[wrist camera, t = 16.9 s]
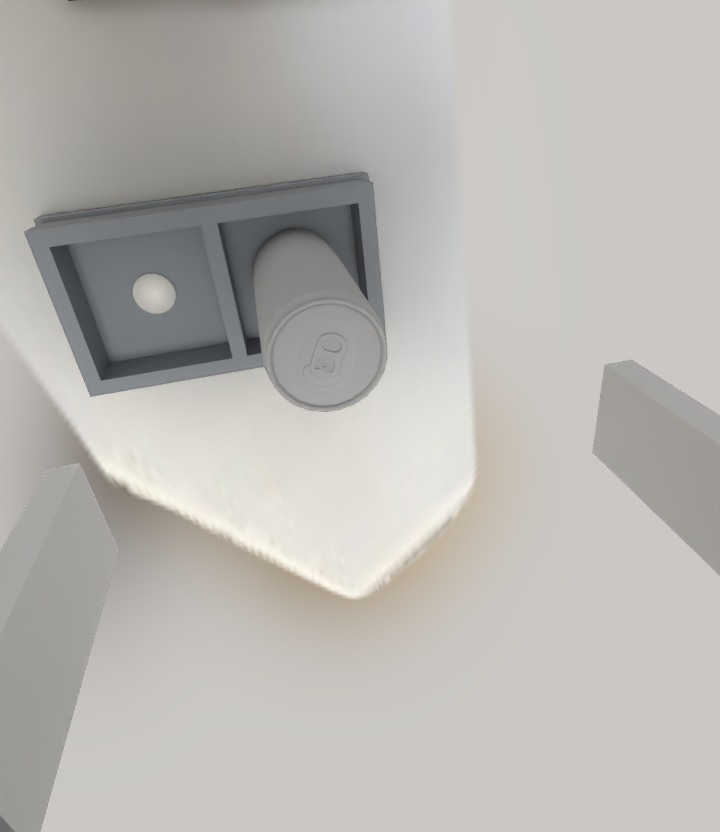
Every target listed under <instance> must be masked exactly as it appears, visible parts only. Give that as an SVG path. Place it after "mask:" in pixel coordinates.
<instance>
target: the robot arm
mask: <svg viewBox="0 0 720 832" xmlns="http://www.w3.org/2000/svg"><path fill="white" fill-rule="evenodd" d="M593 454H595V455H596V456H597V457H598V458H599V459H600V460H601V461H602V462H603V463H604V464H605V465H606V466H607V467H608V468H609V469H610V470H611V471H612V472H613V473H614V474H615V475H616V476H617V477H618V478H619V479H620V480H621V481H623V483H624V484H625V485H627V486H628V487H629V488H630V489H631V490H632V491H633V492H634V493H635V494H636V495H637V496H638V497H639V498H640V499H641V500H642V501H643V502H644V503H645V504H646V505H647V506H648V507H649V508H650V509H651V510H652V511H653V512H654V513H655V514H657V515H658V516H659V517H660V518H661V519H662V520H663V521H664V522H665V523H666V524H667V525H668V526H669V527H670V528H671V529H672V530H673V531H674V532H675V533H676V534H678V536H679V537H680V538H681V539H682V540H683V541H685V542H686V543H687V544H688V545H689V546H690V547H691V548H692V549H693V550H694V551H695V552H696V553H697V554H698V555H699V556H700V557H701V558H702V559H703V560H704V561H705V562H706V563H707V564H708V565H709V566H710V567H711V568H712V569H713V570H714V571H716V573H718V574H719V575H720V415H718V414H717V413H715V412H713V411H712V410H710V409H709V408H707V407H706V406H704V405H703V404H701V403H699V402H698V401H696V400H695V399H693V398H691V397H690V396H688V395H687V394H685V393H683V392H682V391H680V390H679V389H677V388H675V387H674V386H673V385H671V384H669V383H667V382H666V381H665V380H663V379H661V378H660V377H658V376H657V375H655V374H653V373H652V372H650V371H649V370H647V369H646V368H644V367H642V366H641V365H639V364H638V363H636V362H634V361H633V360H628V361H622V362H617V363H612V364H607V365H605V366H604V372H603V380H602V387H601V394H600V401H599V409H598V416H597V423H596V430H595V438H594V444H593ZM118 551H119V549H118V547H117V545H116V542H115V540H114V538H113V536H112V533H111V531H110V529H109V527H108V525H107V522H106V520H105V518H104V516H103V513H102V511H101V509H100V507H99V505H98V502H97V500H96V498H95V496H94V493H93V491H92V489H91V487H90V485H89V482H88V480H87V478H86V476H85V473H84V471H83V469H82V467H81V464H80V463H77V464H71V465H65V466H60V467H55V468H49V469H45V471H44V473H43V474H42V476H41V478H40V480H39V482H38V484H37V485H36V487H35V489H34V491H33V493H32V495H31V496H30V498H29V500H28V502H27V504H26V506H25V507H24V509H23V511H22V513H21V515H20V516H19V518H18V520H17V522H16V524H15V525H14V527H13V529H12V531H11V533H10V535H9V536H8V538H7V540H6V542H5V544H4V546H3V547H2V549H1V551H0V832H40V831H41V827H42V823H43V820H44V817H45V813H46V809H47V806H48V802H49V799H50V795H51V791H52V788H53V784H54V780H55V777H56V774H57V770H58V766H59V763H60V759H61V756H62V752H63V748H64V745H65V741H66V738H67V734H68V731H69V727H70V723H71V720H72V716H73V712H74V709H75V705H76V702H77V698H78V695H79V691H80V688H81V684H82V680H83V677H84V673H85V670H86V666H87V662H88V659H89V655H90V652H91V648H92V645H93V641H94V637H95V634H96V630H97V626H98V623H99V619H100V616H101V612H102V609H103V605H104V602H105V598H106V594H107V590H108V587H109V584H110V580H111V577H112V573H113V569H114V566H115V562H116V559H117V555H118Z"/></svg>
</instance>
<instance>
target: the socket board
mask: <svg viewBox="0 0 720 832" xmlns="http://www.w3.org/2000/svg"><path fill="white" fill-rule="evenodd" d="M34 222H35V224H36V226H35V227H33V228H31V229H29V230H27V231H25V232H24V233H25V235H26V238H27V240H28V243H29V245H30V248H31V250H32V253H33V255H34V258H35V260H36V263H37V265H38V268H39V270H40V273H41V275H42V277H43V280H44V282H45V285H46V287H47V290H48V292H49V295H50V297H51V300H52V302H53V305H54V307H55V310H56V312H57V315H58V317H59V320H60V322H61V325H62V327H63V330H64V332H65V335H66V337H67V339H68V342H69V344H70V347H71V349H72V352H73V354H74V357H75V359H76V362H77V364H78V367H79V369H80V372H81V374H82V377H83V379H84V382H85V384H86V387H87V389H88V392H89V394H90V397H92V396H97V395H103V394H109V393H115V392H120V391H126V390H132V389H138V388H143V387H149V386H155V385H161V384H167V383H172V382H178V381H184V380H190V379H195V378H201V377H207V376H213V375H218V374H224V373H230V372H236V371H241V370H247V369H253V368H259V367H264V365H263V358H262V352H261V344H260V335H259V327H258V318H257V310H256V301H255V293H254V284H253V276H252V271H253V263H254V260H255V258H256V256H257V254H258V252H259V250H260V249H261V248H262V247H263V246H264V244H265V243H266V242H267V241H268V240H270V239H271V238H272V237H274V236H275V235H276V234H279V233H281V232H283V231H286V230H291V229H303V230H309V231H312V232H314V233H316V234H318V235H320V236H321V237H322V238H324V239H325V240H326V241H327V242H328V243H329V244H330V246H331V247H332V249H333V250H334V252H335V253H336V255H337V256H338V258H339V259H340V261H341V262H342V264H343V265H344V267H345V268H346V270H347V271H348V273H349V274H350V276H351V277H352V278H353V280H354V281H355V283H356V284H357V286H358V287H359V289H360V290H361V292H362V293H363V295H364V296H365V298H366V299H367V301H368V302H369V304H370V305H371V307H372V308H373V310H374V311H375V313H376V314H377V316H378V317H379V319H380V320H381V323H382V326H383V329H384V333H385V336H386V332H385V320H384V309H383V297H382V285H381V274H380V262H379V251H378V239H377V227H376V216H375V204H374V192H373V183H371V182H369V178H368V173H365V172H361V173H354V174H346V175H339V176H332V177H324V178H317V179H310V180H302V181H295V182H288V183H280V184H273V185H266V186H258V187H251V188H244V189H236V190H229V191H222V192H214V193H207V194H200V195H192V196H185V197H178V198H170V199H163V200H156V201H148V202H141V203H134V204H126V205H119V206H111V207H104V208H97V209H89V210H82V211H75V212H67V213H60V214H53V215H45V216H40V217H37V218H35V219H34Z"/></svg>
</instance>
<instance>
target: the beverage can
mask: <svg viewBox="0 0 720 832" xmlns="http://www.w3.org/2000/svg"><path fill="white" fill-rule="evenodd" d="M252 276H253V284H254V293H255V301H256V310H257V318H258V327H259V335H260V344H261V352H262V358H263V365H264V368H265V370H266V372H267V374H268V376H269V378H270V380H271V381H272V383H273V385H274V387H275V388H276V389H277V390H278V391H279V393H280V394H281V395H282V396H283V397H284V398H285V399H287V400H288V401H290V402H291V403H293V404H294V405H296V406H298V407H301V408H304V409H307V410H310V411H320V412H328V411H335V410H341V409H343V408H346V407H349V406H351V405H354V404H355V403H357V402H358V401H360V400H361V399H363V398H364V397H366V396H367V395H368V394H369V393H370V392H371V391H372V390H373V388H374V387H375V386H376V385H377V383H378V382H379V380H380V378H381V376H382V374H383V373H384V369H385V365H386V361H387V343H386V336H385V333H384V329H383V326H382V323H381V320H380V319H379V317H378V316H377V314H376V313H375V311H374V310H373V308H372V307H371V305H370V304H369V302H368V301H367V299H366V298H365V296H364V295H363V293H362V292H361V290H360V289H359V287H358V286H357V284H356V283H355V281H354V280H353V278H352V277H351V276H350V274H349V273H348V271H347V270H346V268H345V267H344V265H343V264H342V262H341V261H340V259H339V258H338V256H337V255H336V253H335V252H334V250H333V249H332V247H331V246H330V244H329V243H328V242H327V241H326V240H325V239H324V238H322V237H321V236H320V235H318V234H316V233H314V232H312V231H309V230H303V229H291V230H286V231H283V232H281V233H279V234H276V235H275V236H274V237H272V238H271V239H270V240H268V241H267V242H266V243H265V244H264V246H263V247H262V248H261V249H260V250H259V252H258V254H257V256H256V258H255V260H254V263H253V271H252Z"/></svg>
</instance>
